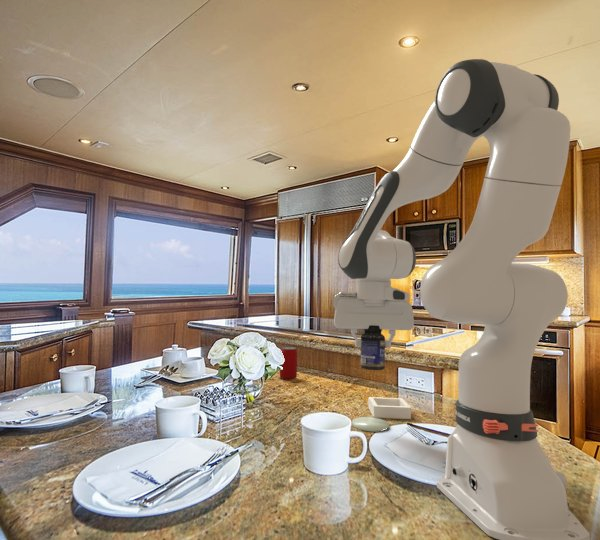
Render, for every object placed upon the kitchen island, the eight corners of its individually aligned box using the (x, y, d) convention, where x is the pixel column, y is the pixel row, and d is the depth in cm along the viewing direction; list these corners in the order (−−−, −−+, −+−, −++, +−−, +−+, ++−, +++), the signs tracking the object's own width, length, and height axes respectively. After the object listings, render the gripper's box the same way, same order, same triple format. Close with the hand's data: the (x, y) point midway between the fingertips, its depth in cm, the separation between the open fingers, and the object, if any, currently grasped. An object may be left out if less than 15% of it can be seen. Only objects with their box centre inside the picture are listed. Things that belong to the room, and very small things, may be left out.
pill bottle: (384, 371, 96) (385, 326, 97) (359, 369, 97) (360, 325, 98) (384, 367, 102) (385, 324, 103) (361, 365, 103) (361, 324, 104)
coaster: (391, 432, 94) (391, 429, 94) (354, 431, 94) (354, 427, 94) (384, 420, 103) (384, 417, 103) (350, 419, 103) (350, 416, 103)
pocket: (410, 419, 105) (411, 407, 105) (373, 417, 105) (373, 406, 106) (402, 408, 115) (402, 398, 115) (368, 407, 115) (368, 396, 116)
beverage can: (289, 376, 158) (290, 346, 159) (300, 379, 153) (301, 348, 153) (276, 378, 154) (277, 347, 154) (286, 381, 148) (287, 349, 149)
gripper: (333, 291, 98) (332, 347, 97) (415, 294, 98) (415, 349, 96) (332, 292, 105) (331, 344, 103) (409, 294, 104) (409, 347, 103)
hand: (372, 347), depth 100 cm, fingers closed on pill bottle, 6 cm apart
